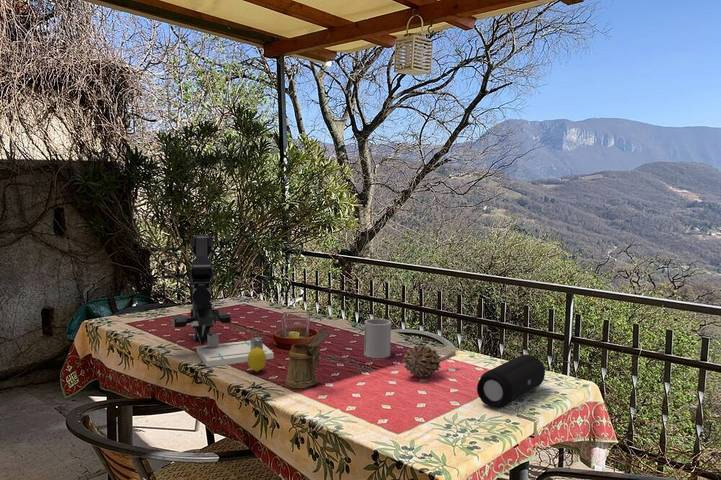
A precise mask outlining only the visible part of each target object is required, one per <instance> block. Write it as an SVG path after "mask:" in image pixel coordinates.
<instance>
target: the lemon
mask: <svg viewBox="0 0 721 480" xmlns="http://www.w3.org/2000/svg"><path fill="white" fill-rule="evenodd" d="M266 362H267V360H266V356H265V353H264V351H263V350H262V349H260V348H258V347H256V348H254V349H252V350H251V351H250V353H249V355H248V362H247V364H248V367H249V368H250V369H251V370H252V371H255V373H258V372H260V371H261V370H262V369H264V367H265V365H266Z"/></svg>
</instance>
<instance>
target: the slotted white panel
mask: <svg viewBox="0 0 721 480" xmlns="http://www.w3.org/2000/svg"><path fill="white" fill-rule="evenodd" d="M250 351H251V340H242V341H235V342H227V343H226V342H225V343H219V347H214V348H210V347H209V346H208V344H206V345H200V346H199V345H198V346H196V354H197V355H198V356H199V358H200V359H201V360H202V362H203V363H204V365H205V366H206V368H211V367H218V366H220V367H221V366H225V365H226V366H228V365H234V364H235V365H236V364H241V363H248V355H249V353H250ZM263 351H264V353H265V356H266V361H267V360H273V359H274V358H275V355H274V354H275V353H274V352H273V351H272V350H271V349H270V348H269V347H267V346H266V345H265V344H264V343H263Z"/></svg>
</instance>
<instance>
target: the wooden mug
mask: <svg viewBox="0 0 721 480" xmlns="http://www.w3.org/2000/svg"><path fill="white" fill-rule="evenodd" d="M327 336H328V329H327V328H326V327H325V328H323V329H321V330H320V331H318V332H317V333H316V334H315V335H313V337H312V338H311V340H310V342H309V344H308V343H304V342H303V343H301V342H300V343H295V344H292V345H291V348H290V351H289V360H288V369H287V375H286V377H285V383H284V384H285V386H287V387H289V388H292V389H308V388H312V387H313V386H315V385H317V383H318V381H317V380H318V379H317V378H318V377H317V375H316V369H317V368H318V366H319V363H320V361H321V353H320V348H319V345H320V344H322V342H324V340H325V338H326V337H327Z"/></svg>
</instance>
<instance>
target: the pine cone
mask: <svg viewBox="0 0 721 480" xmlns="http://www.w3.org/2000/svg"><path fill="white" fill-rule="evenodd" d="M406 351H407V353H405V354H404V355H403V358H404V359H403V360H402V362H403V363H404V364H405V365H404V366H403V368H405V371H408V372H409V374H412V376H414V375H416V377H418V378H419V377H423V376H424V375H425V376H424V377H428V376H429V375H430V376H432V375H434V374H435V373H436V372H439V371H440V370H439V369H440V368H441V365H440V363H441V362H444V361H446V360H449V359H452V357H457V353H458V351H457V350H451V351H450V352H449V353H448V354H446V355H444V356H442V355H439V353H437V350H436V349H432V348H431V347H430V346H425V345H421V344H419V345H418V346H417V345H415V346H413V348H411V349H410V348H409V349H407V350H406Z"/></svg>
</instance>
